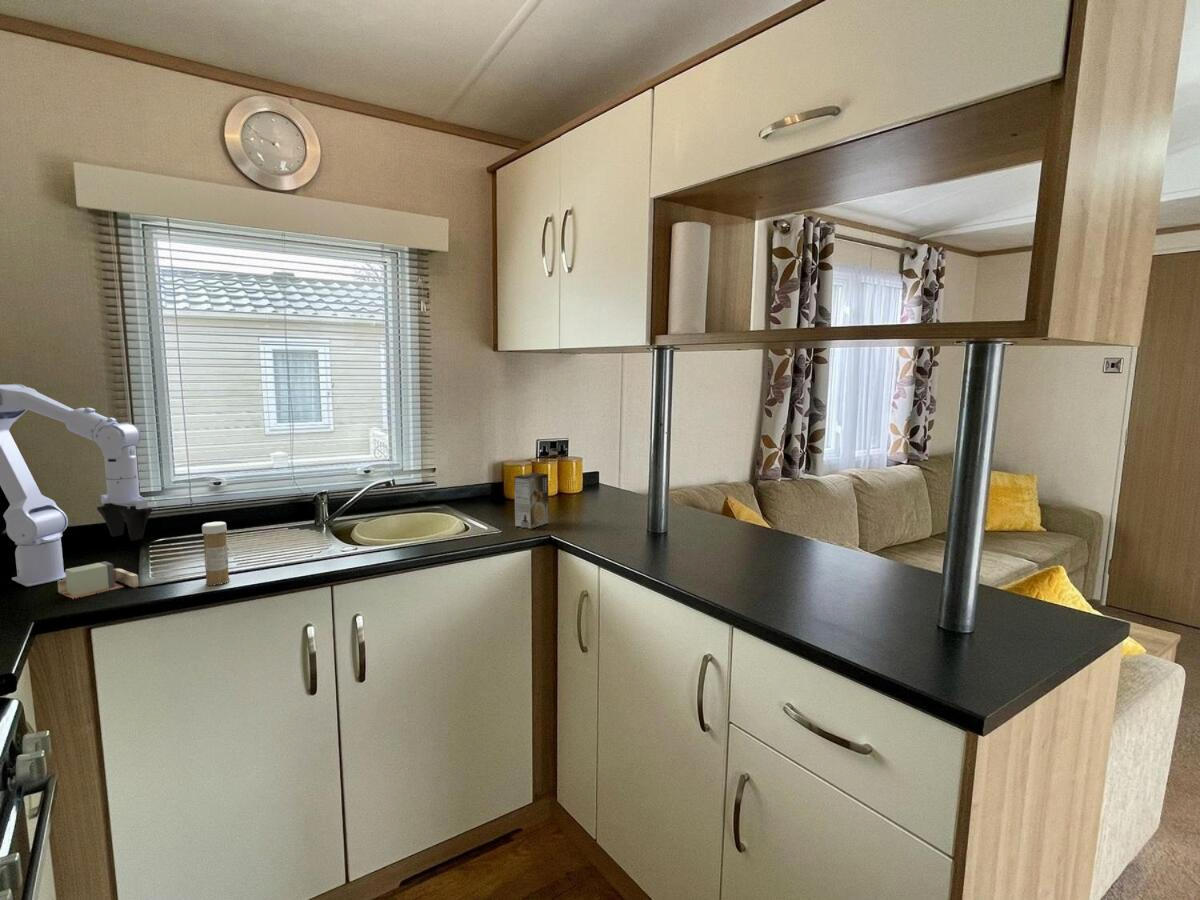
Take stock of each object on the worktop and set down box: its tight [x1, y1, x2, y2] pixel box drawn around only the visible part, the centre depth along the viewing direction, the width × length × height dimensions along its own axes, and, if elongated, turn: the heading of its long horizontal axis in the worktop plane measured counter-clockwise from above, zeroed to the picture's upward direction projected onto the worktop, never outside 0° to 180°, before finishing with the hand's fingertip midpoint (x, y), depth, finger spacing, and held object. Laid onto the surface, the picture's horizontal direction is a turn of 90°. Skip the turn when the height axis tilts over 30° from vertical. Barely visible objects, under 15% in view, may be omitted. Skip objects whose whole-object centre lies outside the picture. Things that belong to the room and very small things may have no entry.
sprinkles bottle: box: [201, 521, 230, 586], centre depth 139 cm, size 5×5×14 cm
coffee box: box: [513, 472, 550, 528], centre depth 194 cm, size 9×6×16 cm
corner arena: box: [56, 567, 140, 600], centre depth 135 cm, size 10×11×2 cm
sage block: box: [64, 560, 116, 596], centre depth 134 cm, size 4×7×5 cm, turn 147°
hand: (127, 537), depth 142 cm, fingers open, 7 cm apart
